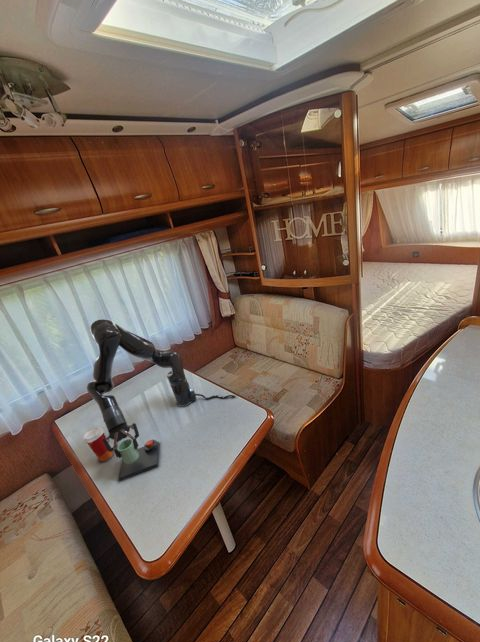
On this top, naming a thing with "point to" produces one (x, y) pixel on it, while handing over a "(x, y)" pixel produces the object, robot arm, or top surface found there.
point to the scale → (141, 461)
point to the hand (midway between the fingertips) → (128, 452)
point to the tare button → (149, 443)
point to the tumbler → (128, 451)
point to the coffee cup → (98, 443)
